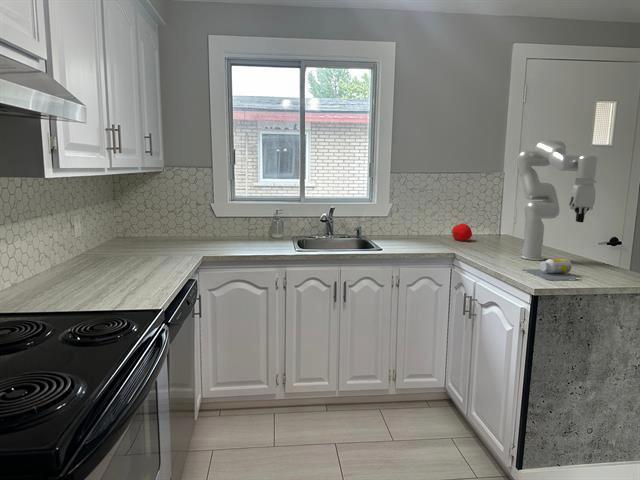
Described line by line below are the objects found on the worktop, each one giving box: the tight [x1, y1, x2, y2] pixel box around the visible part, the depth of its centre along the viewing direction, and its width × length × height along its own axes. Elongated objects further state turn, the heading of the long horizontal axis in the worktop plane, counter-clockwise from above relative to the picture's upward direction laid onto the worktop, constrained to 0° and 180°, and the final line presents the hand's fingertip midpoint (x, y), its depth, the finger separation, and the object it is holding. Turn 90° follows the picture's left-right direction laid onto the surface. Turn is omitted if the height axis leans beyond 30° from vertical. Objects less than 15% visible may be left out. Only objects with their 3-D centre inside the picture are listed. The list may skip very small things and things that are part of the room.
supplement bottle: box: [539, 258, 573, 274], centre depth 207 cm, size 7×7×13 cm
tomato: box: [451, 223, 473, 242], centre depth 299 cm, size 13×13×13 cm
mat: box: [522, 268, 578, 281], centre depth 205 cm, size 20×16×1 cm
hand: (579, 221), depth 206 cm, fingers closed
